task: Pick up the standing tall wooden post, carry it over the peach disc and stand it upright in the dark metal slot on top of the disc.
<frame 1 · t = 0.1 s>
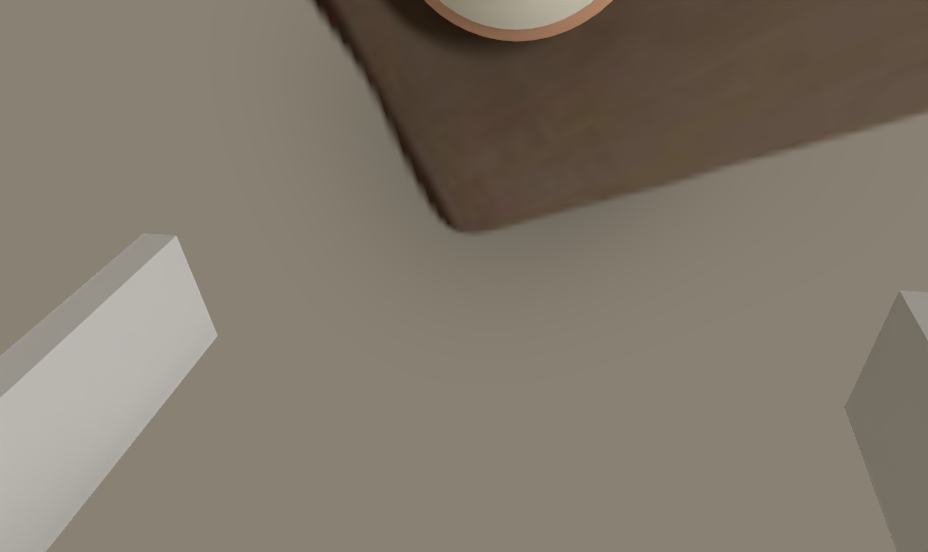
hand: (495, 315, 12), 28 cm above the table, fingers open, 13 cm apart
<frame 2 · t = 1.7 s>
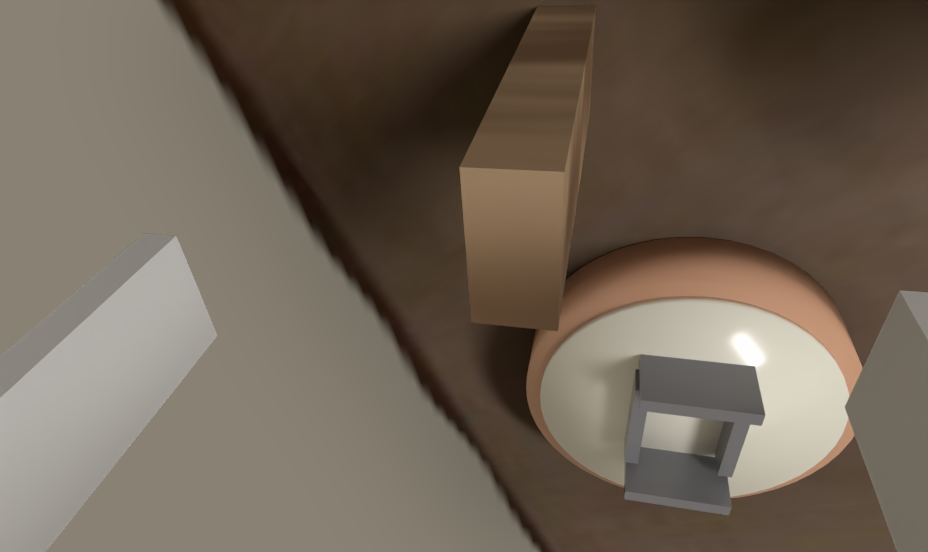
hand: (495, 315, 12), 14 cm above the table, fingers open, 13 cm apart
tall wooden post: (564, 65, 22), on the table
peach disc: (679, 358, 29), on the table
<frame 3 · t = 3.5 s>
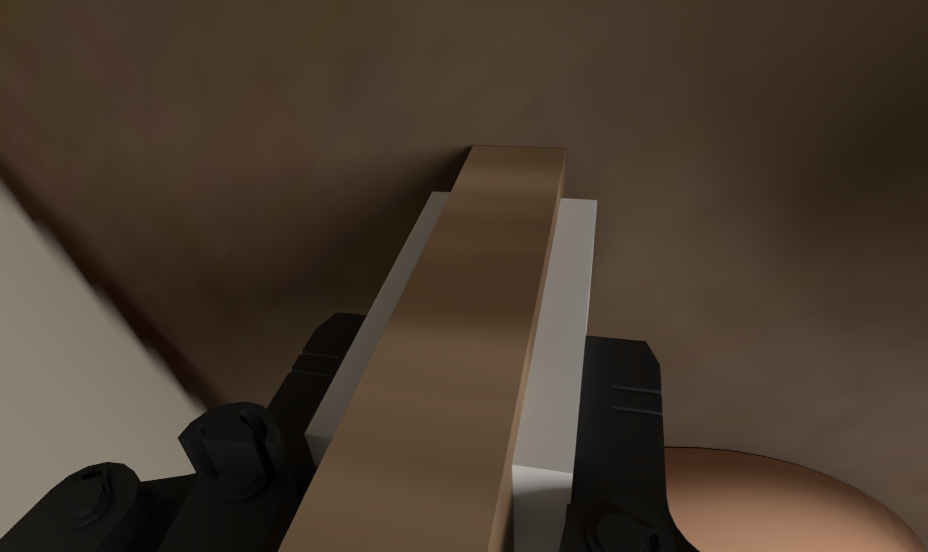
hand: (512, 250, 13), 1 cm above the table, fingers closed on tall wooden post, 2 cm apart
tall wooden post: (519, 226, 14), on the table, touching gripper
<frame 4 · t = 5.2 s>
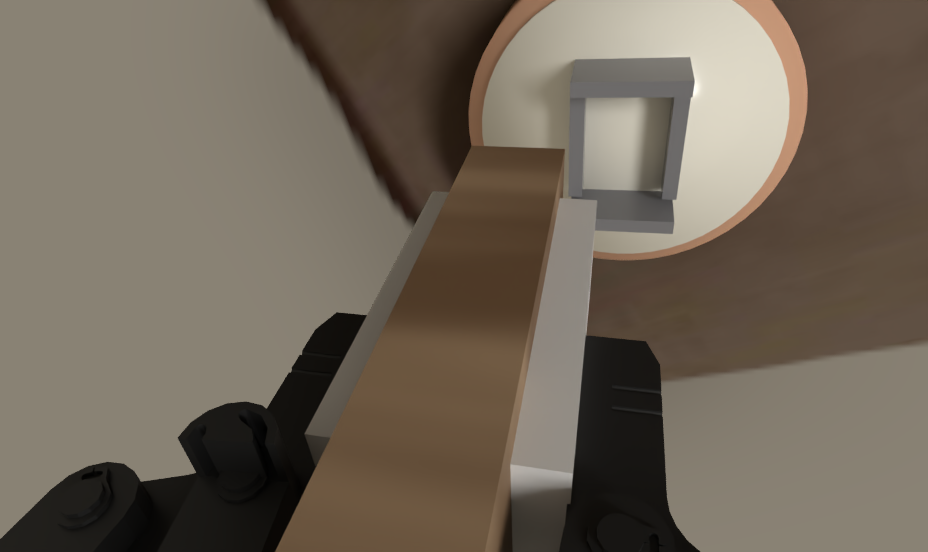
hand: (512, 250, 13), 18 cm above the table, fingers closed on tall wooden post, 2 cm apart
tall wooden post: (518, 226, 14), point 17 cm above the table, touching gripper
peach disc: (626, 103, 28), on the table
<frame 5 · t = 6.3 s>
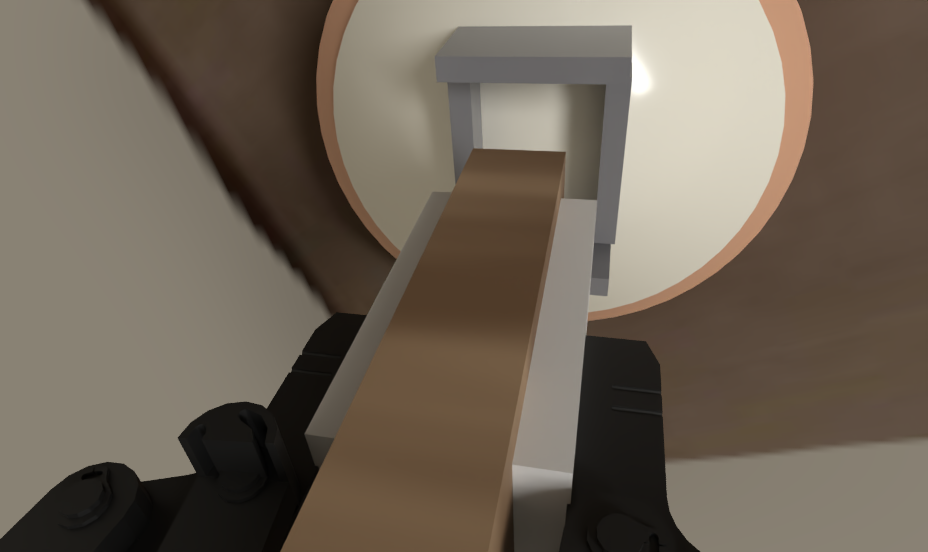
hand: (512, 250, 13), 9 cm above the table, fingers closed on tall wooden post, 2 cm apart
tall wooden post: (519, 229, 14), point 8 cm above the table, touching gripper
peach disc: (552, 102, 20), on the table
when the fingers open (6 cm above the table, at t = 7.0 s): tall wooden post drops 1 cm, resting on peach disc.
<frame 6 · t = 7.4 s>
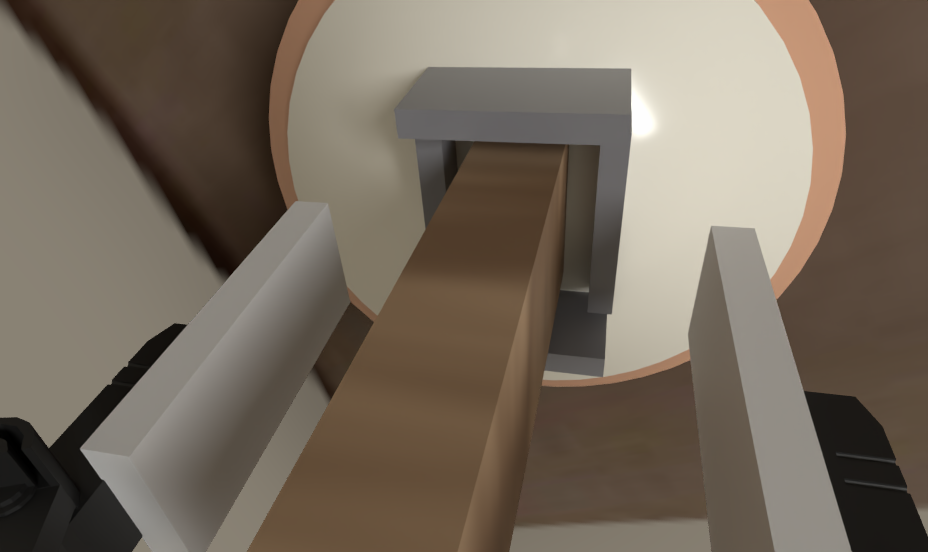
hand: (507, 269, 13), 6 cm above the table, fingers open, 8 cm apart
tall wooden post: (525, 203, 15), point 3 cm above the table, touching peach disc
peach disc: (541, 143, 18), on the table
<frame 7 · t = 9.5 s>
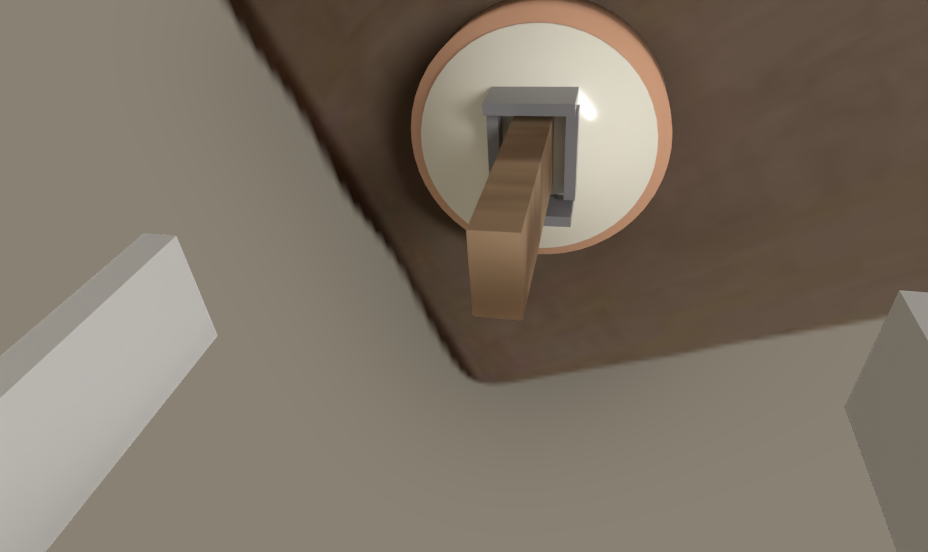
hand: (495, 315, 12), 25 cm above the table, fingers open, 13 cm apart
tall wooden post: (534, 148, 32), point 3 cm above the table, touching peach disc
peach disc: (541, 124, 35), on the table
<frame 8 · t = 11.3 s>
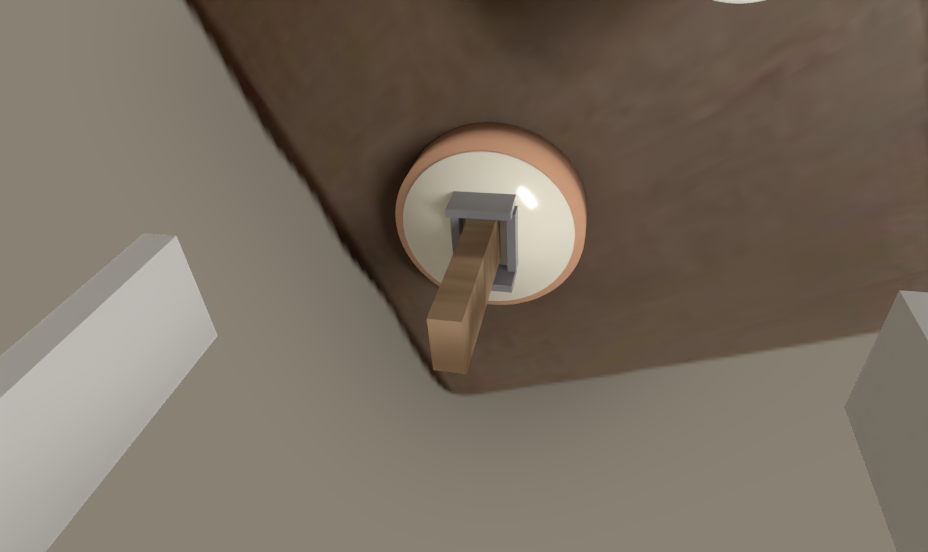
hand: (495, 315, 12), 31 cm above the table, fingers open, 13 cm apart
tall wooden post: (486, 233, 44), point 3 cm above the table, touching peach disc
peach disc: (494, 209, 46), on the table
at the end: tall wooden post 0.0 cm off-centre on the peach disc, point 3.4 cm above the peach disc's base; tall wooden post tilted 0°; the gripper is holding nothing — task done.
